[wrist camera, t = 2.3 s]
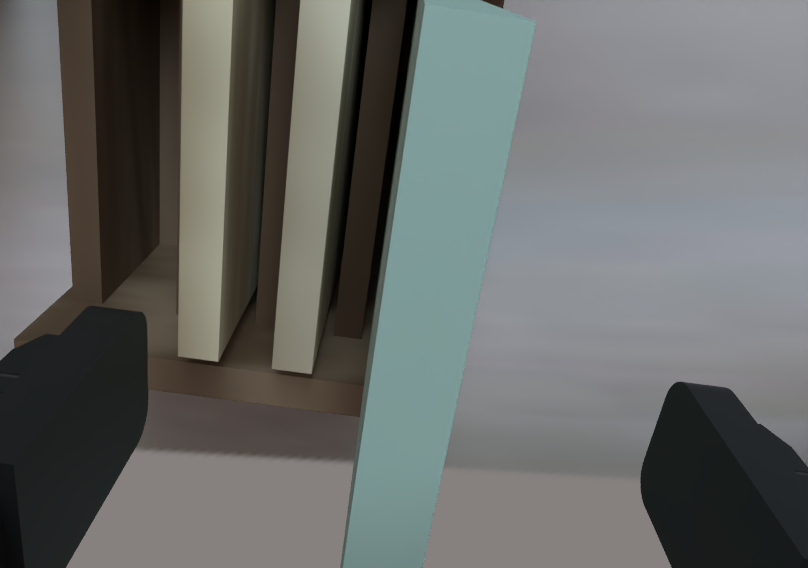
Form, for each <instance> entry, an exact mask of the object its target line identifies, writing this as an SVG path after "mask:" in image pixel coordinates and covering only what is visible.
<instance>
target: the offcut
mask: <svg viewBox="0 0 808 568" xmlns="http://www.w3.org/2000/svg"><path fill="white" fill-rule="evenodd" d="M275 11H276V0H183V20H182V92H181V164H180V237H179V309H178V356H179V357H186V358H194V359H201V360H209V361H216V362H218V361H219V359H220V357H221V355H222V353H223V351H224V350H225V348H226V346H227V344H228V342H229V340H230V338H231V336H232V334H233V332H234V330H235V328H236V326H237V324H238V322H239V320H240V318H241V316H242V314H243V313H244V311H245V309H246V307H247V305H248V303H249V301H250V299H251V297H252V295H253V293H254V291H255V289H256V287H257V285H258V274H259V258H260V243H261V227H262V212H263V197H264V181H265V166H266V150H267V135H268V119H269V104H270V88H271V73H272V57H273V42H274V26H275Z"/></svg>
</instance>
